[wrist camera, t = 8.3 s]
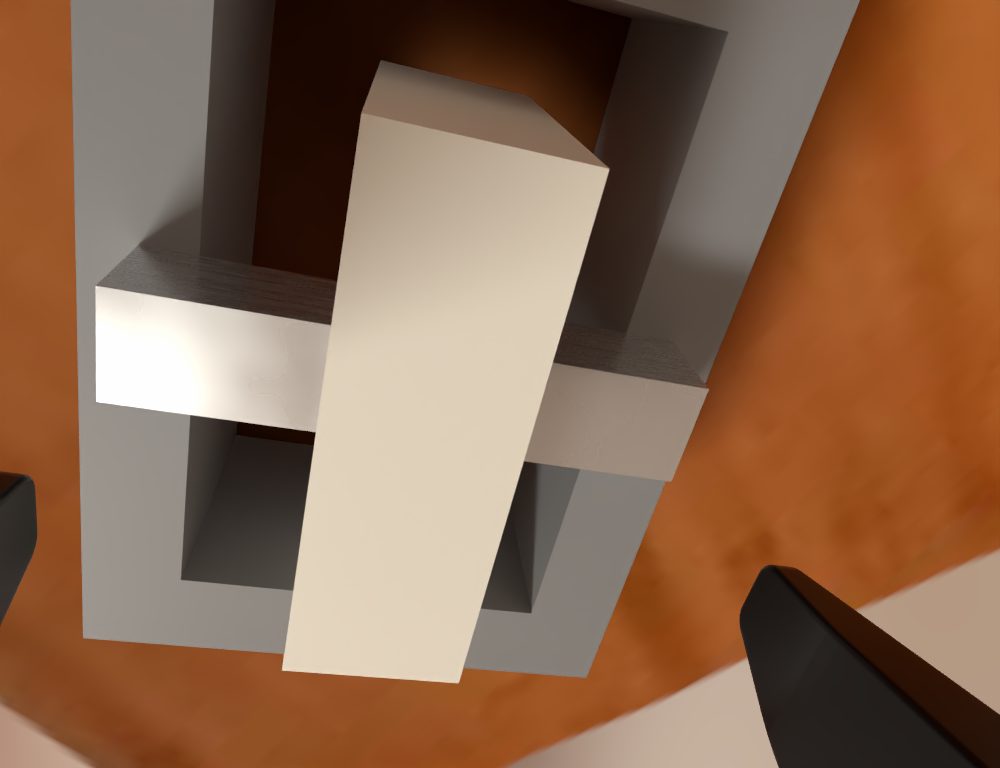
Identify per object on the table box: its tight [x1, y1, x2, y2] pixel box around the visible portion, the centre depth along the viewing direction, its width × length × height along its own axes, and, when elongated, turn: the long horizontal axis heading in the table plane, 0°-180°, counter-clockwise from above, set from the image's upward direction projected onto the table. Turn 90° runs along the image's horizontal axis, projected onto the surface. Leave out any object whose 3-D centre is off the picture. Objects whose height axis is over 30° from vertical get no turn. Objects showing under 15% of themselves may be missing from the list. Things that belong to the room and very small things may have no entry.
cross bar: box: [95, 245, 709, 482], centre depth 13 cm, size 10×2×2 cm, turn 76°
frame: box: [71, 0, 860, 678], centre depth 17 cm, size 12×17×6 cm
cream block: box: [282, 60, 609, 683], centre depth 14 cm, size 3×9×7 cm, turn 166°
